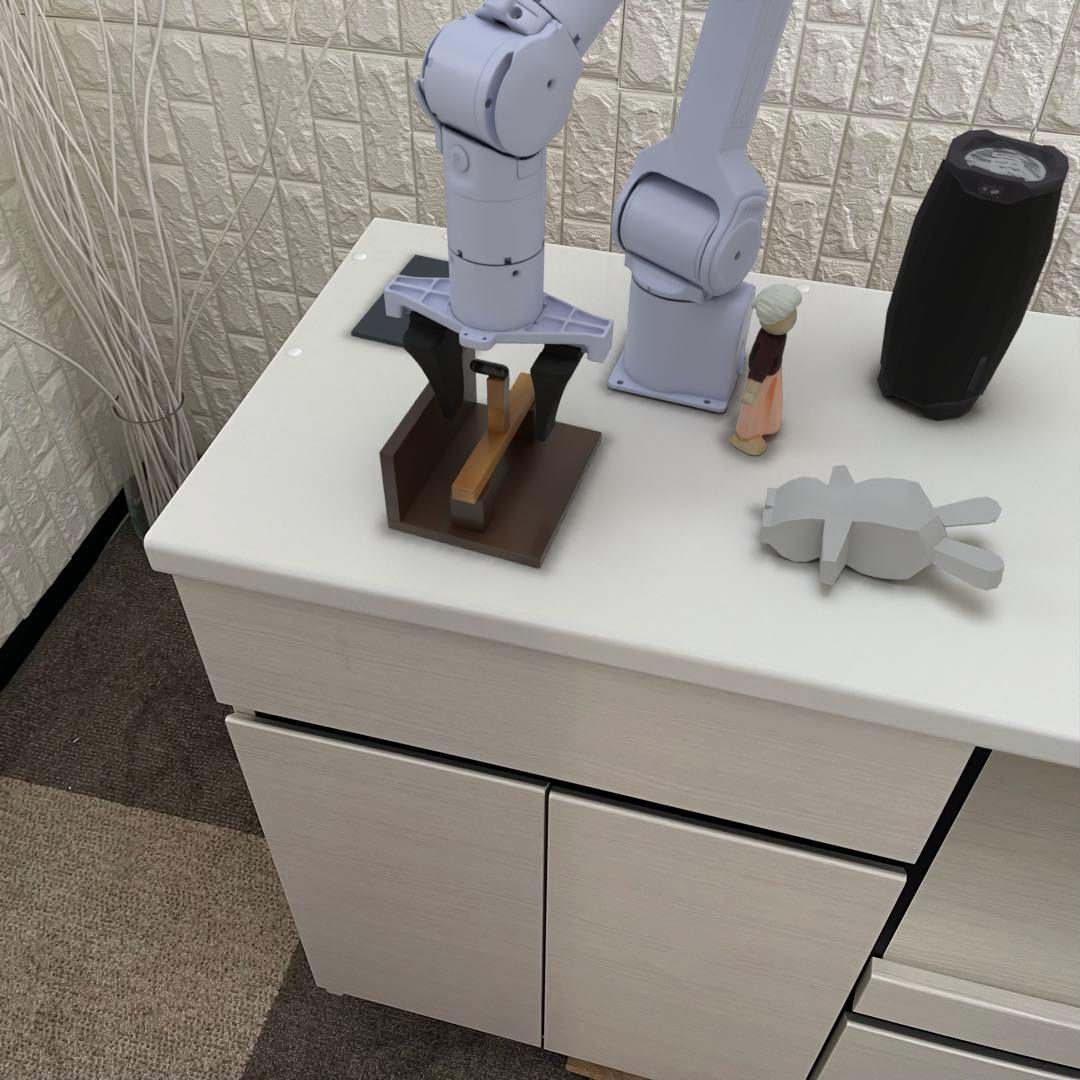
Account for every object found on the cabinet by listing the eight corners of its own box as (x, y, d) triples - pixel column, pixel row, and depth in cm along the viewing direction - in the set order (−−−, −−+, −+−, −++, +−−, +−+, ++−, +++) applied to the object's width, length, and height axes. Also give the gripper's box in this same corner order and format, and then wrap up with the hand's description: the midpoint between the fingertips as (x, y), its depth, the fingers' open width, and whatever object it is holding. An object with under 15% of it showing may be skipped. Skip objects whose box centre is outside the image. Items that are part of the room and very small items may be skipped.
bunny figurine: (773, 443, 73) (1006, 464, 69) (769, 498, 76) (991, 521, 73) (757, 537, 67) (1012, 566, 63) (753, 593, 70) (995, 623, 66)
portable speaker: (859, 355, 87) (925, 122, 73) (974, 361, 87) (1062, 128, 73) (876, 420, 81) (952, 180, 67) (999, 427, 81) (1101, 187, 67)
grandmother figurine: (776, 468, 77) (811, 321, 68) (723, 460, 78) (751, 313, 69) (780, 403, 83) (813, 259, 74) (731, 397, 83) (758, 253, 74)
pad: (518, 279, 94) (518, 275, 94) (462, 360, 86) (462, 356, 86) (415, 258, 97) (415, 254, 96) (351, 335, 88) (350, 331, 88)
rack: (601, 439, 79) (607, 365, 74) (539, 568, 70) (541, 493, 65) (465, 407, 82) (462, 333, 77) (387, 527, 72) (378, 452, 67)
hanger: (541, 389, 77) (542, 314, 73) (474, 505, 69) (471, 428, 64) (505, 381, 78) (505, 306, 73) (435, 494, 69) (430, 417, 65)
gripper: (353, 250, 61) (375, 432, 71) (593, 300, 58) (582, 483, 67) (404, 194, 66) (419, 372, 75) (629, 238, 62) (613, 417, 72)
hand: (498, 420), depth 72 cm, fingers open, 6 cm apart
